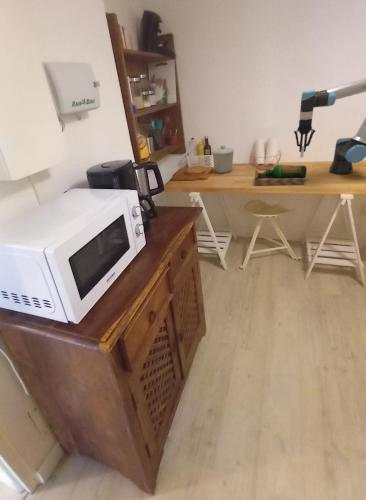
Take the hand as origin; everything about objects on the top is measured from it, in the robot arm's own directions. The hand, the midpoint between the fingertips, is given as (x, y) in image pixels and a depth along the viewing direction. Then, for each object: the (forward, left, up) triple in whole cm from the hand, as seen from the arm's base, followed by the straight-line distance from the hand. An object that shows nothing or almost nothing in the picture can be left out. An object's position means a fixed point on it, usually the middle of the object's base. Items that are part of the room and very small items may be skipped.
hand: (301, 156), depth 195 cm
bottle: (-4, -1, -11) cm, 12 cm away
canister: (+56, -29, -17) cm, 65 cm away
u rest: (+14, 0, -16) cm, 22 cm away
